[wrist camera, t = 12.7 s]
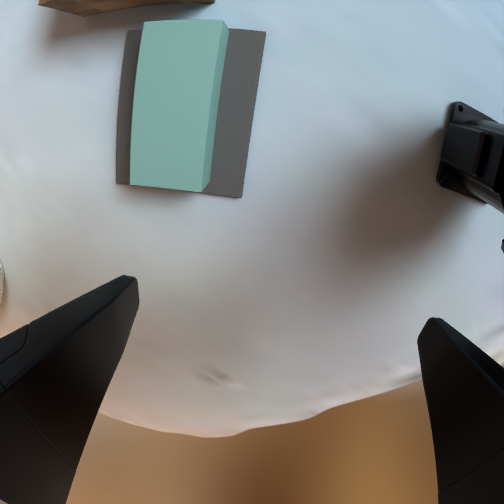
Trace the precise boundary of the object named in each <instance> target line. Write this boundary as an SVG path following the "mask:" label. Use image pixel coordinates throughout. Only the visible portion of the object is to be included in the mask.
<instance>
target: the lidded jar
mask: <svg viewBox="0 0 504 504" xmlns="http://www.w3.org/2000/svg"><path fill="white" fill-rule="evenodd" d="M4 278H5V276H4V270H3V267H2V264H1V261H0V304H1V301H2V297H3V282H4Z"/></svg>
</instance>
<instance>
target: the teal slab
mask: <svg viewBox="0 0 504 504" xmlns="http://www.w3.org/2000/svg"><path fill="white" fill-rule="evenodd" d="M228 36H229V29H228V27H227V26H226V24H225V23H224V21H223V20H200V19H192V20H162V21H149V22H144V26H143V32H142V37H141V44H140V50H139V57H138V64H137V72H136V81H135V91H134V101H133V114H132V129H131V152H130V185H140V186H150V187H160V188H169V189H177V190H186V191H194V192H202V191H203V189H204V188H205V187H206V185H207V184H208V183H209V181H210V173H211V163H212V154H213V145H214V136H215V127H216V119H217V111H218V103H219V96H220V88H221V81H222V74H223V67H224V61H225V54H226V48H227V42H228Z"/></svg>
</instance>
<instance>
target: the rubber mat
mask: <svg viewBox="0 0 504 504" xmlns="http://www.w3.org/2000/svg"><path fill="white" fill-rule="evenodd" d="M228 29H229V36H228V42H227V48H226V54H225V61H224V67H223V74H222V81H221V88H220V96H219V103H218V111H217V119H216V127H215V136H214V145H213V154H212V163H211V173H210V181H209V183H208V184H207V185H206V187H205V188H204V189H203V191H202V192H201V193H208V194H216V195H223V196H230V197H237V198H241V197H242V192H243V184H244V177H245V170H246V163H247V156H248V149H249V142H250V135H251V128H252V121H253V114H254V108H255V101H256V94H257V88H258V81H259V75H260V68H261V62H262V56H263V49H264V43H265V37H266V32H263V31H254V30H243V29H230V28H228ZM142 32H143V29H141V30H131V31H128V34H127V40H126V46H125V53H124V60H123V68H122V76H121V85H120V96H119V108H118V124H117V151H116V183H119V184H130V152H131V129H132V114H133V101H134V91H135V81H136V72H137V64H138V57H139V50H140V44H141V37H142ZM159 188H160V187H159ZM168 189H169V188H168ZM176 190H177V189H176ZM185 191H186V190H185ZM193 192H194V191H193Z"/></svg>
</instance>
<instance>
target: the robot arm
mask: <svg viewBox="0 0 504 504" xmlns="http://www.w3.org/2000/svg"><path fill="white" fill-rule="evenodd" d="M458 106H460V111H459V110H458ZM443 177H444V181H443V182H441V180H442V178H443ZM436 182H437V184H438V185H440V186H441V187H443V188H446V189H449V190H452V191H455V192H458V193H461V194H463V195H466V196H469V197H471V198H474V199H477V200H479V201H482V202H484V203H487V204H489V205H491V206H493V207H494V208H496V209H497V210H499V211H500V212H502V213H503V214H504V124H500V123H498V122H496V121H495V120H493V119H491V118H490V117H488V116H486V115H484V114H483V113H481V112H479V111H477V110H476V109H474V108H472V107H470V106H468V105H466V104H464V103H462V102H458V101H457V102H454V103H453V107H452V112H451V118H450V123H449V125H448V128H447V133H446V137H445V142H444V146H443V150H442V154H441V162H440V166H439V170H438V173H437V177H436ZM501 249H502V251H503V253H504V239H503V240H502V246H501ZM138 307H139V292H138V282H137V279H136V278H135V277H132V276H127V275H122V276H120V277H118V278H116V279H114V280H112V281H110V282H108V283H106V284H104V285H102V286H100V287H98V288H96V289H94V290H92V291H90V292H88V293H86V294H84V295H82V296H80V297H78V298H76V299H74V300H72V301H70V302H68V303H66V304H64V305H63V306H61V307H59V308H57V309H55V310H53V311H51V312H49V313H47V314H45V315H44V316H42V317H40V318H38V319H36V320H34V321H32V322H30V324H27V325H25V326H23V327H21V328H19V329H17V330H16V331H14V332H12V333H10V334H8V335H6V336H4V337H2V338H0V504H66V501H67V498H68V494H69V491H70V488H71V485H72V482H73V478H74V476H75V473H76V469H77V466H78V463H79V461H80V458H81V455H82V452H83V449H84V447H85V444H86V441H87V438H88V436H89V433H90V431H91V428H92V425H93V423H94V420H95V418H96V415H97V413H98V410H99V408H100V405H101V403H102V400H103V398H104V396H105V393H106V391H107V388H108V386H109V384H110V381H111V379H112V377H113V374H114V372H115V370H116V368H117V365H118V363H119V361H120V359H121V356H122V354H123V352H124V349H125V346H126V343H127V340H128V337H129V334H130V331H131V328H132V325H133V322H134V319H135V316H136V313H137V310H138ZM417 344H418V351H419V357H420V364H421V372H422V380H423V386H424V390H425V396H426V401H427V406H428V411H429V417H430V423H431V429H432V437H433V443H434V451H435V460H436V471H437V481H438V482H437V483H438V491H439V492H438V504H504V368H503V367H502V366H500V365H499V364H498V363H497V362H496V361H494V360H493V359H492V358H491V357H490V356H488V355H487V354H486V353H485V352H483V351H482V350H481V349H480V348H478V347H477V346H476V345H475V344H474V343H472V342H471V341H470V340H468V339H467V338H466V337H465V336H463V335H462V334H461V333H460V332H458V331H457V330H456V329H454V328H453V327H452V326H450V325H449V324H448V323H447V322H445V321H444V320H443V319H441V318H434V317H432V318H429V319H428V321H427V322H426V324H425V326H424V327H423V329H422V331H421V333H420V334H419V336H418V340H417Z"/></svg>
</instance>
